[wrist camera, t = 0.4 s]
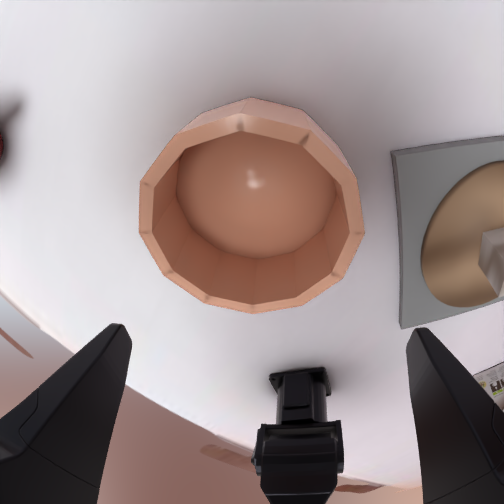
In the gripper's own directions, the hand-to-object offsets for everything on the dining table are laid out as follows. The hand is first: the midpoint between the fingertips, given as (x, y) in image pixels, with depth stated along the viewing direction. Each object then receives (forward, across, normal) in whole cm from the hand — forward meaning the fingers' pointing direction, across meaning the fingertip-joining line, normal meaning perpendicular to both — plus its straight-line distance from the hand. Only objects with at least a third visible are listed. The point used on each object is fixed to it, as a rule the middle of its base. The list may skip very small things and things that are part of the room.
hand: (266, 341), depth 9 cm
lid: (+13, -18, +5) cm, 23 cm away
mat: (+14, -18, +5) cm, 23 cm away
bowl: (+14, +1, +1) cm, 14 cm away
